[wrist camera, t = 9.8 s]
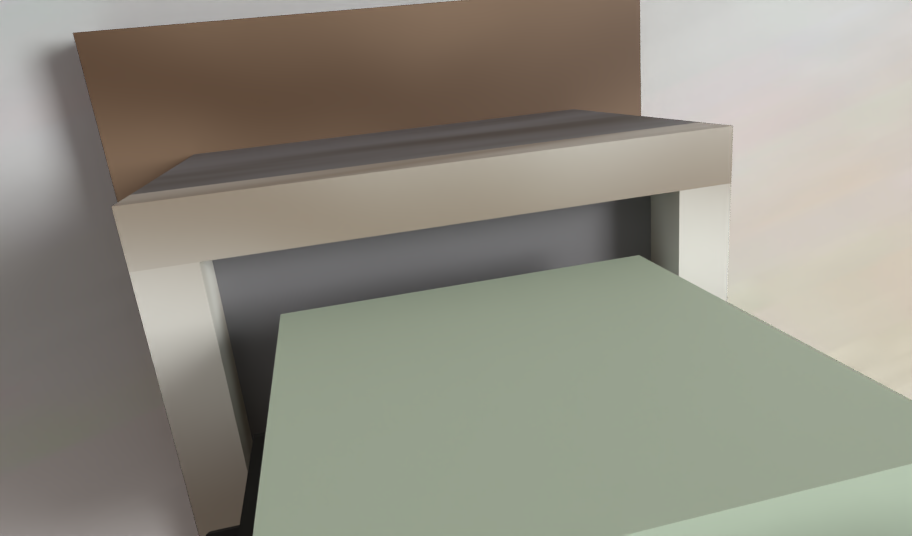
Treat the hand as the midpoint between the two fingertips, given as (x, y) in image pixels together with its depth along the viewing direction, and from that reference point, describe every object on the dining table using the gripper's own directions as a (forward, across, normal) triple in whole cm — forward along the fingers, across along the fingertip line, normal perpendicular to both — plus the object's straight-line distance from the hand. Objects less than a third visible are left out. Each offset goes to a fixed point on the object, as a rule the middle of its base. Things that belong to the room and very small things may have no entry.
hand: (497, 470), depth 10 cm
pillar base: (+10, 0, 0) cm, 10 cm away
